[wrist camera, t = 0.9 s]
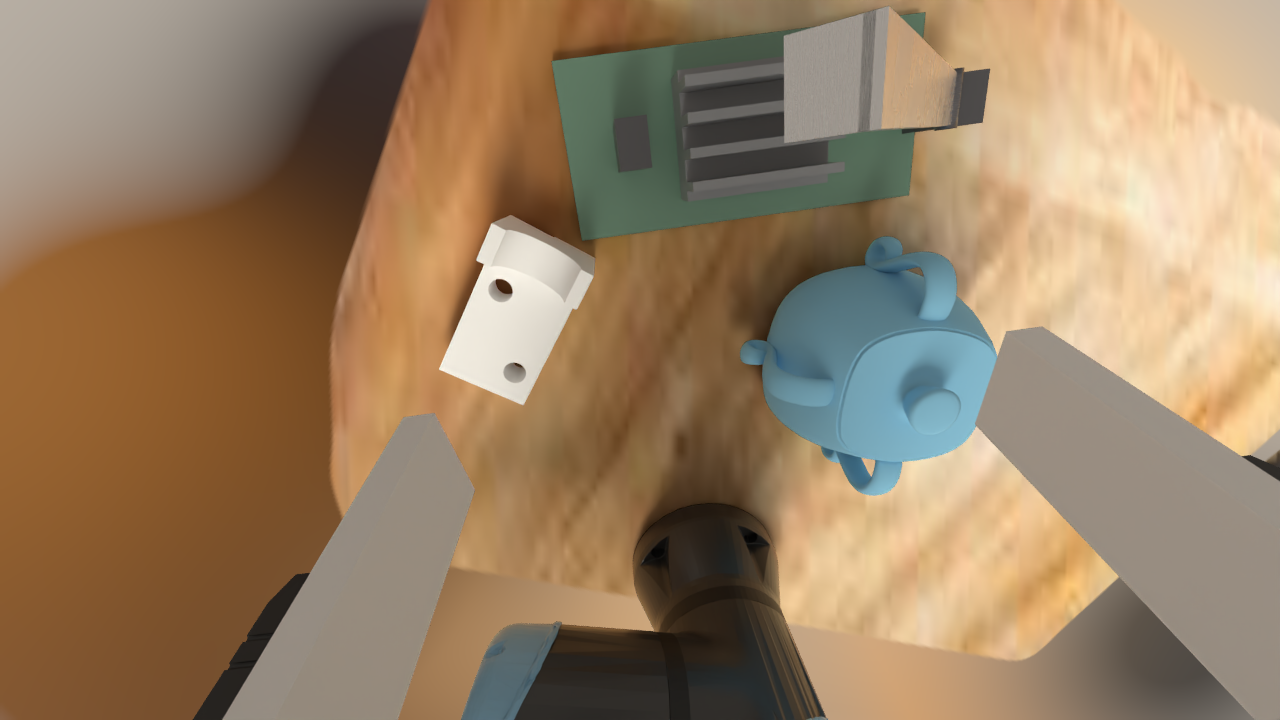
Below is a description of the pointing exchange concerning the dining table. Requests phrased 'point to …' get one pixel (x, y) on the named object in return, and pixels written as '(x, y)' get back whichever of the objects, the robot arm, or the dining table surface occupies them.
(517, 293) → the bracket
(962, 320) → the decorative pot
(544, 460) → the dining table surface
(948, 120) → the strap
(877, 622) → the dining table surface
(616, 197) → the heatsink board
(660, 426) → the dining table surface
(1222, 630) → the robot arm
